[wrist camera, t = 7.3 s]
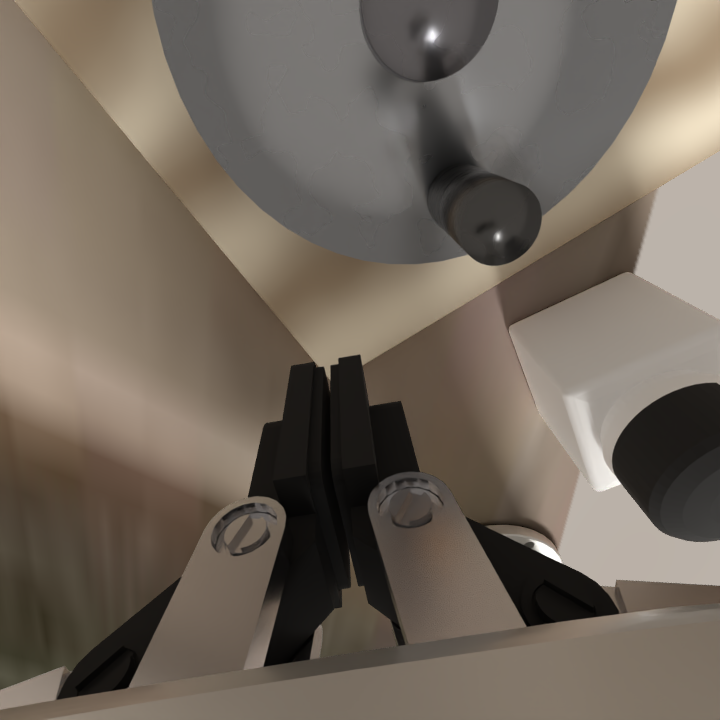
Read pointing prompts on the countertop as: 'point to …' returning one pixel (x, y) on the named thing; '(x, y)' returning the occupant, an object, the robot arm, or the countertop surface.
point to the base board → (346, 274)
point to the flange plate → (411, 111)
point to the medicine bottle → (633, 396)
